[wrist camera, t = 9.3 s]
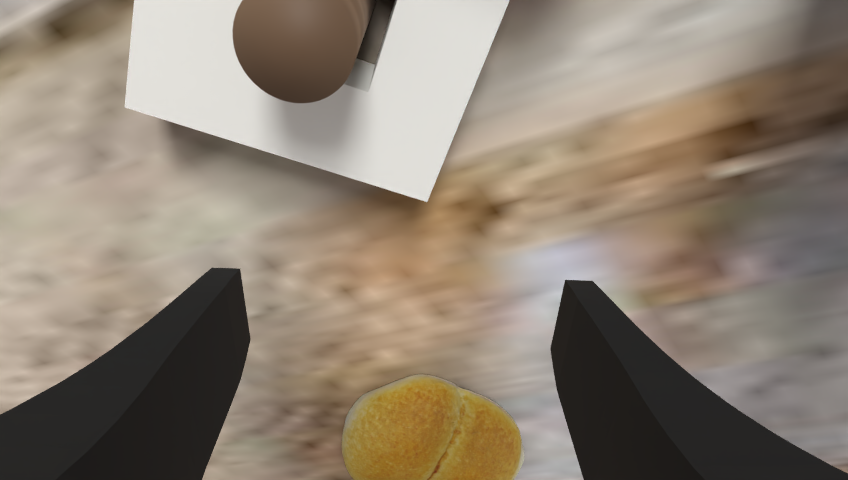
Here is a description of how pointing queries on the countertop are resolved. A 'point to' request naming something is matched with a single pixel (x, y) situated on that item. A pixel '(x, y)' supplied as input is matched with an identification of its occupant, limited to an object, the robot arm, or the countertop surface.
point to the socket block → (333, 116)
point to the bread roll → (430, 434)
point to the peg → (300, 44)
